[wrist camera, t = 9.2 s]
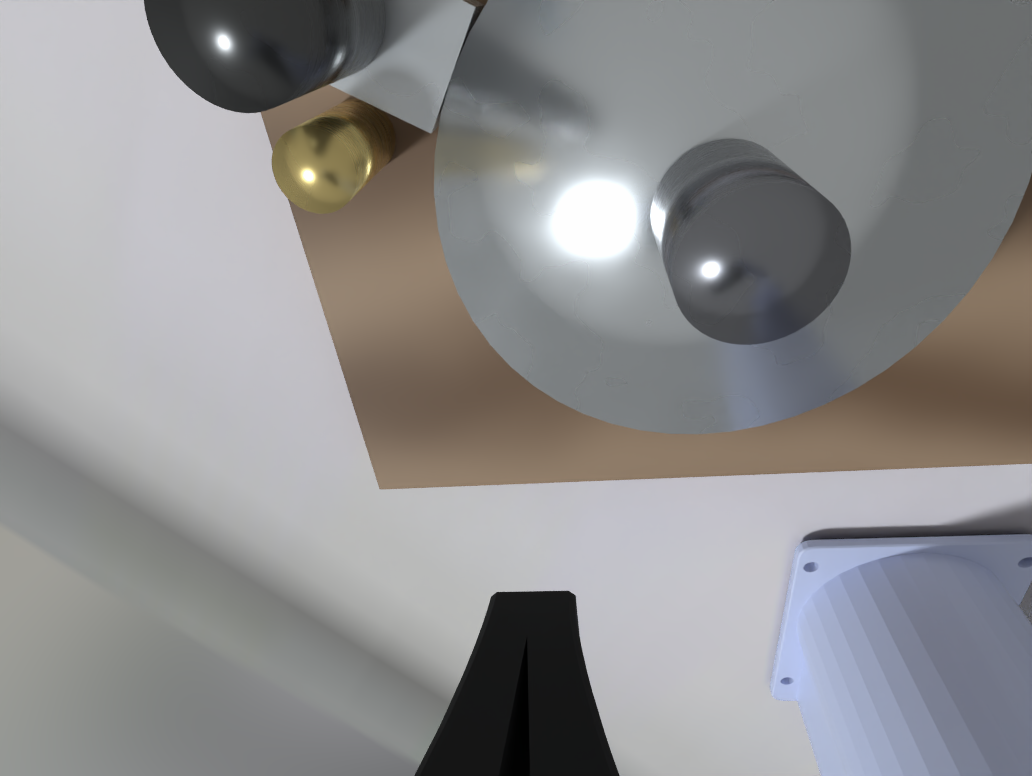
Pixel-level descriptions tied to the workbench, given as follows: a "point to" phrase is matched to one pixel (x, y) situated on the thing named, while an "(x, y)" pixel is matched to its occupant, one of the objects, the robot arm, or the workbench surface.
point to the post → (747, 243)
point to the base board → (595, 443)
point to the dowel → (333, 155)
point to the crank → (665, 165)
